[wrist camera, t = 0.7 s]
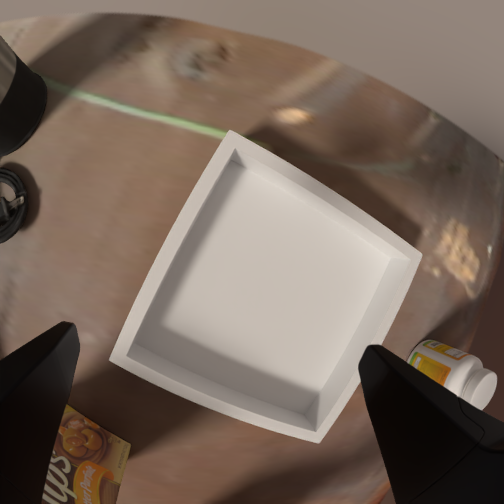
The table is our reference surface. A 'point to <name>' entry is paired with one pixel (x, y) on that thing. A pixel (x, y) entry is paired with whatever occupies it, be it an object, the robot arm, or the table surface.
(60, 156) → the table surface
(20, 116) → the milk frother
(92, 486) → the candy box
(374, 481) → the table surface
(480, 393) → the supplement bottle
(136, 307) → the box
